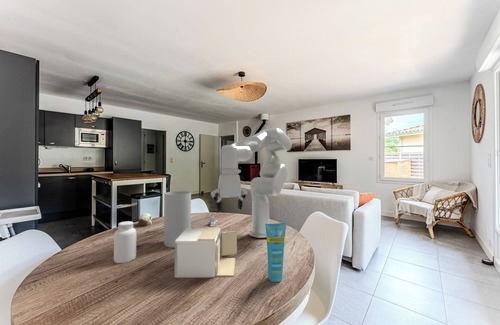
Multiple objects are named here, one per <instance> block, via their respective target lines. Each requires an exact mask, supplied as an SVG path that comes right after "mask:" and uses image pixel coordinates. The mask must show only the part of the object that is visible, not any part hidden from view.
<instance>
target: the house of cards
mask: <svg viewBox="0 0 500 325" xmlns="http://www.w3.org/2000/svg"><path fill="white" fill-rule="evenodd" d="M214 218H215V214H214V213H213V212H212V213H211V217H210V219H209V221H208V224H210V225H216V223H217V224H218V219H214ZM210 225H209V226H210ZM216 226H217V225H216Z"/></svg>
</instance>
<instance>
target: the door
mask: <svg viewBox="0 0 500 325" xmlns="http://www.w3.org/2000/svg"><path fill="white" fill-rule="evenodd" d="M237 239H238V231H237V230H228V231H224V232H222V231H221V232H220V257H223V256H230V255H236V254H237V253H238V251H237V250H238V245H237V244H238V240H237Z"/></svg>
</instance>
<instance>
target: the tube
mask: <svg viewBox="0 0 500 325" xmlns="http://www.w3.org/2000/svg"><path fill="white" fill-rule="evenodd" d="M265 227H266V236H267V237H266V249H267V254H266V255H267V277H268V280H269V281H271V282H274V283H279V282H281V281H283V272H284V258H285V257H284V255H285V254H284V253H285V240H286V231H287V222H275V223H274V222H273V223H269V224H265Z"/></svg>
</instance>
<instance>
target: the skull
mask: <svg viewBox="0 0 500 325" xmlns="http://www.w3.org/2000/svg"><path fill="white" fill-rule="evenodd" d="M152 220H153V218H152V215H151V214H150V213H147V212H145V213H142V214H141V215H140V216H139V217H138V221H137V223H136V224H134V227H137V226H139V227H147V226H149V225H151V224H152V223H153V222H152Z"/></svg>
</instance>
